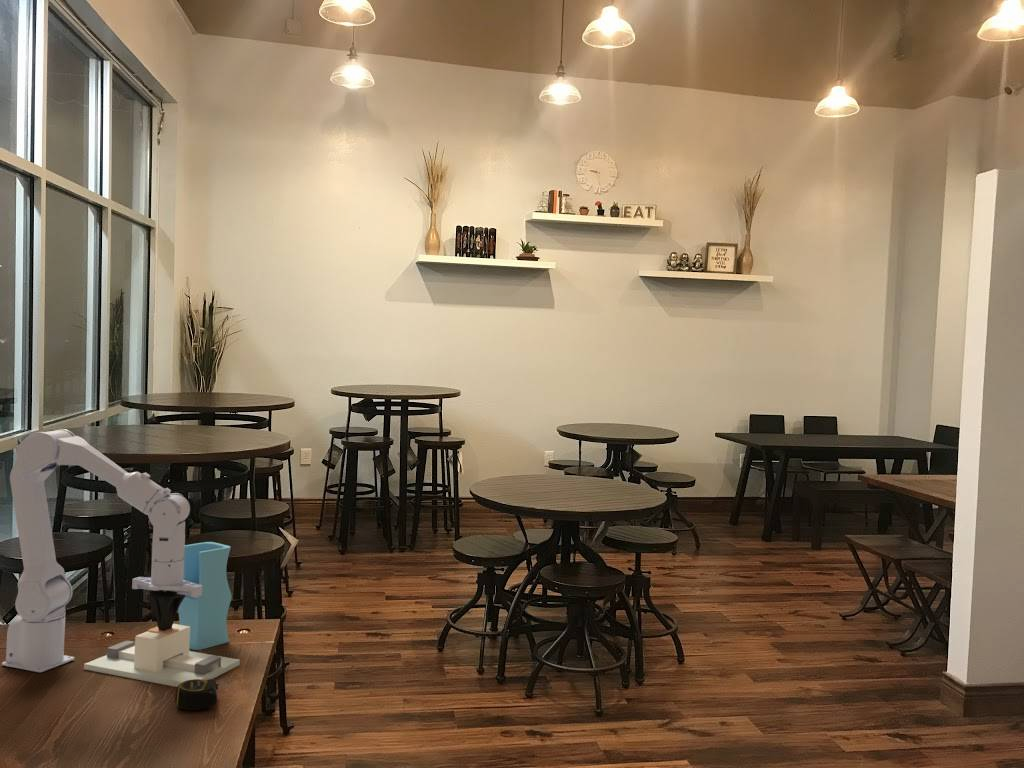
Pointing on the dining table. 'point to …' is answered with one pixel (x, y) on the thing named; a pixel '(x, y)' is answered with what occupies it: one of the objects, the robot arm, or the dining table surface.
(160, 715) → the dining table surface
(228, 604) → the vase
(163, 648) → the block
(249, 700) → the dining table surface
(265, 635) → the dining table surface
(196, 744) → the dining table surface
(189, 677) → the rail board
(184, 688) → the tape measure
